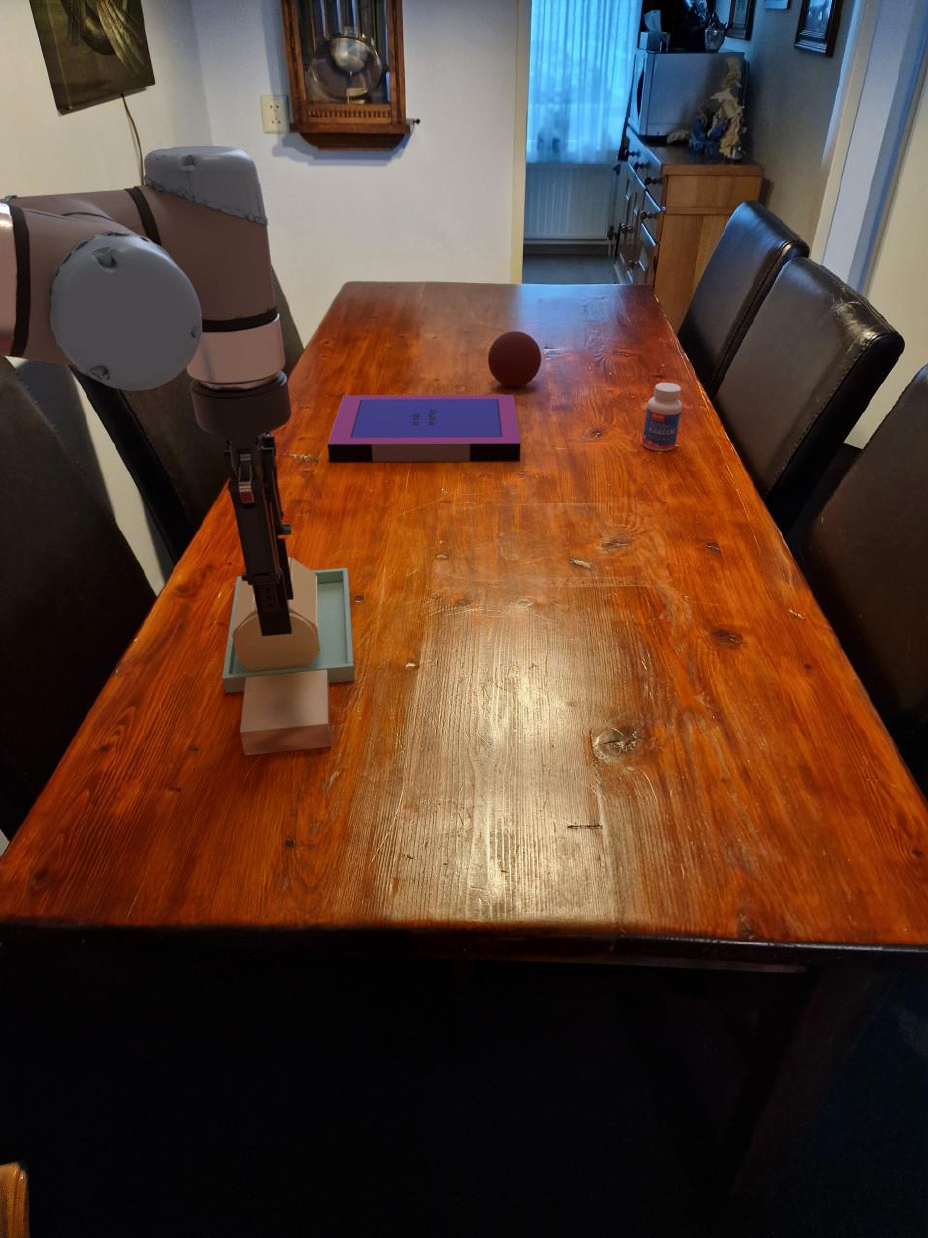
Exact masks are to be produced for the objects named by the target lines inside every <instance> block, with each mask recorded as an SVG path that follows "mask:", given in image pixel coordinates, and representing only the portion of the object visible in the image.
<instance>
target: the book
mask: <svg viewBox="0 0 928 1238" xmlns="http://www.w3.org/2000/svg"><path fill="white" fill-rule="evenodd" d="M520 437H521V436H520V429H519V423H518V417H517V410H516V403H515V396H514V394H399V395H398V394H376V395H375V394H365V395H364V394H357V395H356V394H355V395H353V394H352V395H351V394H349V395H347V394H344V395H342V398H341V402H340V405H339V408H338V410H337V414H336V417H335V420H334V423H333V426H332V429H331V432H330V435H329V438H328V441H327V452H328V461H329V462H328V463H389V462H390V463H397V462H398V463H404V462H405V463H407V462H410V463H413V462H415V463H417V462H420V463H422V462H423V463H424V462H425V463H426V462H429V463H430V462H434V463H435V462H437V463H438V462H439V463H440V462H441V463H442V462H521V438H520Z"/></svg>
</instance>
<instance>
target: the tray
mask: <svg viewBox="0 0 928 1238" xmlns="http://www.w3.org/2000/svg"><path fill="white" fill-rule="evenodd" d="M312 571H313V572H314V573H316V575H317V579H318V587H319V595H320V651H319V654H318V655H317V656H316V657H315V659H314V660H313V662H312V663H311V664H310V665H309V666H308V667H301V668H291V669H280V670H269V671H259V672H252V671H251V670H249V669H248V668H247V667H245V666H244V665H243V664H242V662H240V661H239V659H237V655H236V651H235V646H234V641H233V637H232V630H233V623H234V616H235V609H236V602H237V595H238V588H239V582H240V579H241V576H242V575H240V576H236V582H235V587H234V588H235V589H234V596H233V603H232V608H231V615H230V620H229V621H230V623H229V629H228V636H227V643H226V648H225V649H226V650H225V657H224V663H223V670H222V677H221V680H222V684H223V689H224V692H225V694H230V693H240V692H241V693H242V692H244V690H245V681H246V677H254V676H265V675H275V674H286V673H297V672H307V671H318V670H327V673H328V681H329V684H335V683H336V684H337V683H345V682H355V681H356V674H355V659H354V658H355V657H354V642H353V640H354V639H353V626H352V624H353V623H352V605H351V592H350V591H351V589H350V577H349V568H348V567H340V568H339V567H338V568H328V569H317V570H316V569H315V570H312Z"/></svg>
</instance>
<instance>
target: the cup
mask: <svg viewBox="0 0 928 1238" xmlns="http://www.w3.org/2000/svg"><path fill="white" fill-rule="evenodd" d="M288 562H289V568H290V575H291V581H292V588H293V594H294V598H293V600H287V601H288V607H289V613H290V620H291V626H292V634H284V635H272V636H262V634H261V628H260V623H259V618H258V612H257V607H256V602H255V596H254V591H253V586H252V585H249V584H248V582H247V581H242V578H241V579H240V582H239V588H238V595H237V602H236V609H235V616H234V623H233V630H232V637H233V641H234V646H235V651H236V655H237V659H239V661H240V662H242V664H243V665H244V666H245V667H247V668H248V669H249V670H251V671H252V672H259V671H269V670H280V669H291V668H301V667H308V666H309V665H310V664H311V663H312V662H313V660H314V659H315V657H316V656H317V655H318V654H319V651H320V595H319V587H318V579H317V575H316V573H314V572H313V571H314V570H311V569H310V568H309V567H307V566H305V565H304V564H302V563H301V562H300V561H298V560H297V559H296V558H294V557H290V556H288Z"/></svg>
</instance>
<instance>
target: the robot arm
mask: <svg viewBox="0 0 928 1238" xmlns="http://www.w3.org/2000/svg"><path fill="white" fill-rule="evenodd" d="M143 166H144V176H143V183H144V184H140V185H134V186H133V187H126V188H123V189H114V190H112V189H111V190H98V191H97V190H96V191H85V192H71V193H58V194H57V193H56V194H55V193H54V194H43V195H42V194H41V195H27V196H18V195H17V194H10V195H9V194H8V195H6V196H5V197H4V198H0V357H1V356H2V357H10V358H17V359H18V358H19V359H23V360H28V361H35V362H42V363H50V364H59V365H66V366H72V367H73V368H74V369H76V370H77V371H78V372H80V373H81V374H83V375H85V376H86V377H89V378H91V379H93V380H95V381H97V382H100V383H102V384H103V385H105V386H108V387H110V388H114V389H118V390H123V391H145V390H153V389H154V388H155V389H156V388H158V387H161V386H163V385H165V384H167V383H169V382H171V381H172V380H174V379H175V378H177V377H178V376H179V375H180V374H181V373H183V372H184V371H185V370H186V371H187V372H186V373H187V374H188V376H189V377H191V378H192V380H191V381H190V383H189V390H190V394H191V400H192V405H193V409H194V415H195V419H196V423H197V425H198V426H199V428H200V429H202V431H204V432H206V433H208V434H211V435H213V436H220V437H222V438H224V439H225V440H226V441H225V442H226V450H223V461H224V468H225V471H226V473H228V475H229V480H228V481H227V482H228V483H227V491H228V492H229V495H230V499H231V502H232V506H233V510H234V516H235V521H236V527H237V532H238V537H239V543H240V548H241V552H242V558H243V563H244V569H245V571H243V572H242V573H241V575H240V576H241V578H242V581H247V582H248V584H249V585H252V586H253V591H254V596H255V602H256V607H257V612H258V618H259V623H260V628H261V634H262V636H272V635H284V634H292V626H291V620H290V613H289V607H288V601H287V600H293V598H294V594H293V588H292V581H291V575H290V568H289V562H288V557H289V555H288V550H287V543H286V537H280V536H290V535H292V525H291V523H285V524H283V520H284V517H285V512H284V511H283V505H282V500H281V493H280V487H279V481H278V480H279V479H278V463H277V457H276V456H277V443H276V442H277V441H276V437H275V435H274V434H273V435H272V432H274V431H276V430H278V429H280V428H281V427H283V426H284V425H286V423H288V421H289V420H290V418H291V417H292V406H291V398H290V392H289V384H288V377H287V374H286V373H284V372H283V370H284V367H285V366H286V355H285V350H284V341H283V334H282V326H281V318H280V314H279V313H278V306H277V303H276V302H277V300H276V293H275V292H276V291H275V285H274V276H273V275H274V273H273V266H272V258H271V249H270V240H269V232H268V226H269V219H268V217H267V215H266V209H265V204H264V197H263V193H262V187H261V183H260V179H259V175H258V170H257V166H256V163H255V162H254V160H253V158H252V157H251V156H250V155H249V154H248V153H247V152H246V151H244V150H242V149H240V148H238V147H237V148H236V147H233V146H226V145H225V146H224V145H188V146H187V145H186V146H185V145H184V146H173V147H170V148H158V149H154V150H150V152H148V153H147V154H146V155H145V157H144V159H143Z"/></svg>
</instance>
